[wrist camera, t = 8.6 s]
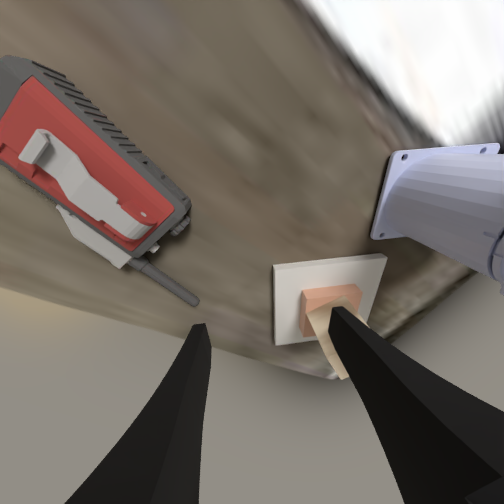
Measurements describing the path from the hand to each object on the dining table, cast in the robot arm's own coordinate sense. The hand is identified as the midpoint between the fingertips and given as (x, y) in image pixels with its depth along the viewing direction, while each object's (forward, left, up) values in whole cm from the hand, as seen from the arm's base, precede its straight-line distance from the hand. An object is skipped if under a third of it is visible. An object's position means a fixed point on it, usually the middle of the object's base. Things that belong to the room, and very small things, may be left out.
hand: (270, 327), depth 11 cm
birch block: (-8, +8, -7) cm, 13 cm away
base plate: (-8, +8, -9) cm, 15 cm away
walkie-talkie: (+10, -5, -10) cm, 15 cm away
